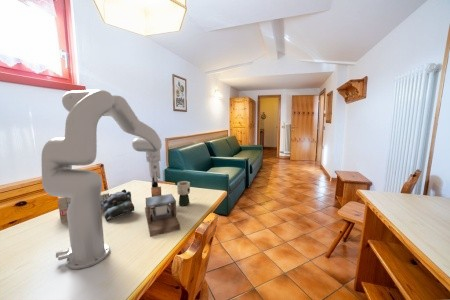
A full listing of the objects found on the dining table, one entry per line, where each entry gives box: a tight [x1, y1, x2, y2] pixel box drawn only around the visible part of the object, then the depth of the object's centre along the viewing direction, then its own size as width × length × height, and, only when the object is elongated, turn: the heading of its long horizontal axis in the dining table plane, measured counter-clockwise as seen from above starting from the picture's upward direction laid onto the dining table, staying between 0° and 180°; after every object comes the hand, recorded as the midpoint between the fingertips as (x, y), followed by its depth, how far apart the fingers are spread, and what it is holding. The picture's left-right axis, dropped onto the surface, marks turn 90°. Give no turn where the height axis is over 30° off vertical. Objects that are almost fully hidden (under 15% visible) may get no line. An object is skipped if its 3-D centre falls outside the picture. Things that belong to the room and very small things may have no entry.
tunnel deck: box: [144, 193, 181, 238], centre depth 95 cm, size 13×26×11 cm, turn 26°
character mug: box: [176, 180, 191, 206], centre depth 114 cm, size 11×7×13 cm, turn 10°
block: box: [155, 204, 167, 216], centre depth 95 cm, size 5×5×6 cm
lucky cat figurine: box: [103, 188, 135, 222], centre depth 101 cm, size 15×12×14 cm
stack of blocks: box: [57, 190, 110, 223], centre depth 103 cm, size 21×6×12 cm, turn 133°
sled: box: [150, 186, 172, 221], centre depth 100 cm, size 9×20×9 cm, turn 26°
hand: (155, 189), depth 113 cm, fingers closed
